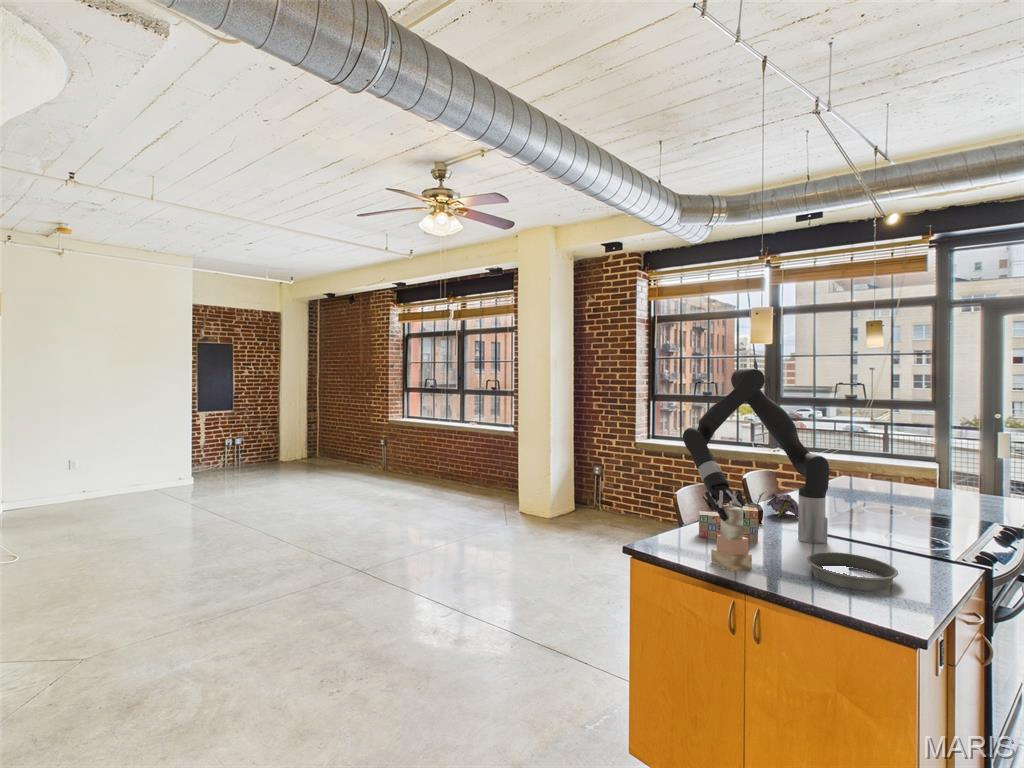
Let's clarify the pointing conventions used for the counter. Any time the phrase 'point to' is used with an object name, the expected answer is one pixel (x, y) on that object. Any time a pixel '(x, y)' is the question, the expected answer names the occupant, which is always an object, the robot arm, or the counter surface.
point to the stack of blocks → (712, 524)
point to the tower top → (733, 546)
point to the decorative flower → (783, 504)
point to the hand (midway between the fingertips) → (734, 519)
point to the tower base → (731, 560)
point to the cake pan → (855, 562)
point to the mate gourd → (759, 508)
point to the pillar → (732, 523)
